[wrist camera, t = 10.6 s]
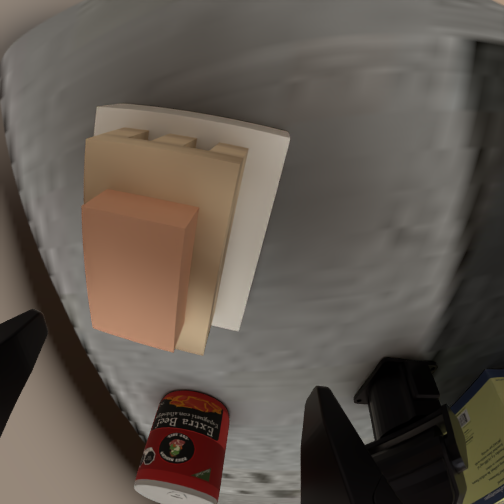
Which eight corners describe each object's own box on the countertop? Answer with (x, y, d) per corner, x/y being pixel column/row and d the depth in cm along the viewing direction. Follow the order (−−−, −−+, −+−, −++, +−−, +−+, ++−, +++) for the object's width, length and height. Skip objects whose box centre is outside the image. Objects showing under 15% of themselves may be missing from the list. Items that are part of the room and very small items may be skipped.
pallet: (214, 313, 19) (203, 355, 15) (118, 287, 18) (93, 324, 15) (248, 148, 14) (240, 164, 11) (124, 127, 14) (85, 138, 10)
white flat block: (243, 302, 22) (238, 331, 19) (113, 269, 21) (94, 292, 19) (287, 131, 16) (290, 138, 13) (122, 103, 16) (96, 106, 13)
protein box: (528, 366, 25) (570, 456, 11) (462, 434, 32) (484, 514, 19) (485, 366, 25) (532, 480, 11) (414, 439, 32) (432, 534, 18)
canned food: (230, 393, 27) (214, 497, 18) (231, 430, 31) (219, 515, 21) (154, 382, 28) (121, 477, 18) (167, 421, 31) (144, 500, 22)
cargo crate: (184, 323, 14) (173, 352, 13) (109, 302, 14) (92, 327, 13) (199, 207, 12) (185, 228, 10) (107, 188, 11) (81, 206, 10)
